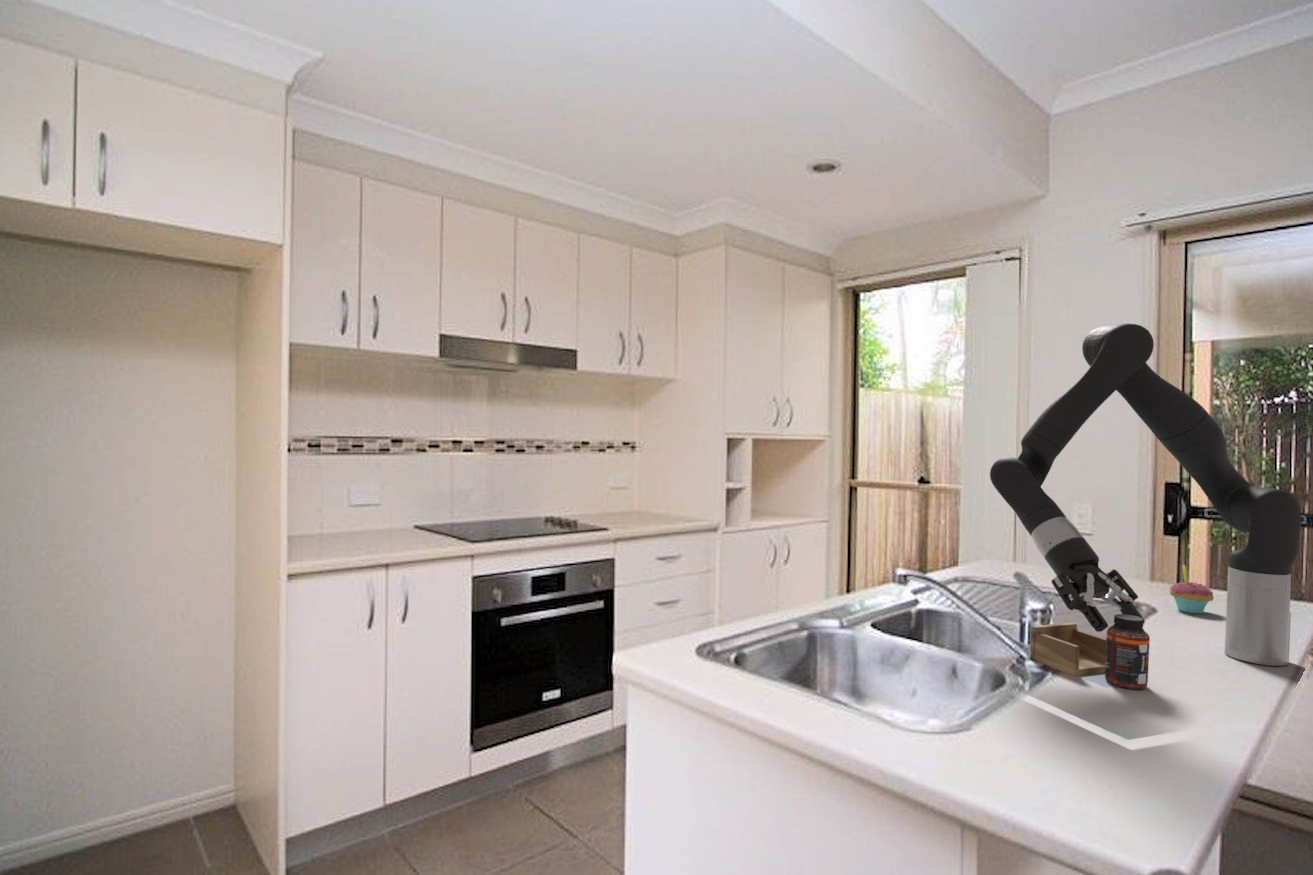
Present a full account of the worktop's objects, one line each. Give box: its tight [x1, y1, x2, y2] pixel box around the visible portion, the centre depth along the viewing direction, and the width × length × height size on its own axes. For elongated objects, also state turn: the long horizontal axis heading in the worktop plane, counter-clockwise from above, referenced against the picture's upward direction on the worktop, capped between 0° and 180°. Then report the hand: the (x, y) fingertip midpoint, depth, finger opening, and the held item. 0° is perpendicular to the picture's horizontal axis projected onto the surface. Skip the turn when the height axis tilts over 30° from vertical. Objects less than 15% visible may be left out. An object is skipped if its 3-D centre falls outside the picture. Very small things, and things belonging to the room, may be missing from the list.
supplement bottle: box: [1104, 613, 1150, 690], centre depth 115 cm, size 6×6×11 cm
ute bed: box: [1030, 622, 1106, 677], centre depth 125 cm, size 10×9×7 cm
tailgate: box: [1080, 673, 1118, 689], centre depth 115 cm, size 9×1×10 cm
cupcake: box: [1169, 561, 1214, 615], centre depth 170 cm, size 9×8×12 cm
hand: (1121, 627), depth 116 cm, fingers open, 8 cm apart
